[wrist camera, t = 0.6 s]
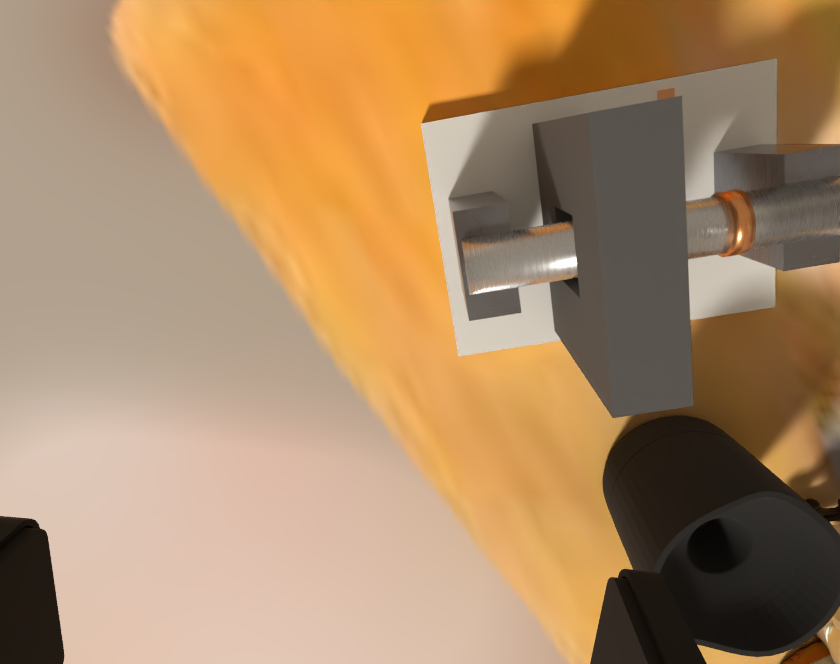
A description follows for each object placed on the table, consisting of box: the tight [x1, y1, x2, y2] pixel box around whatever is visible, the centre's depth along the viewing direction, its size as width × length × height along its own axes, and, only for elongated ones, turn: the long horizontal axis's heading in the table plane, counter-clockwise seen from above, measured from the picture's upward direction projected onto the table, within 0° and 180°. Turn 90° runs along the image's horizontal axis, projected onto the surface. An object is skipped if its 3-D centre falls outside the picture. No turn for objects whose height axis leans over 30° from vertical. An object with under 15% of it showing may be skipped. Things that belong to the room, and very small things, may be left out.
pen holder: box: [603, 416, 840, 657], centre depth 33 cm, size 9×9×10 cm
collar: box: [532, 96, 693, 418], centre depth 26 cm, size 3×11×11 cm, turn 10°
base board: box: [421, 58, 777, 356], centre depth 32 cm, size 18×13×1 cm
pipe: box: [448, 144, 840, 321], centre depth 28 cm, size 16×5×8 cm, turn 100°
